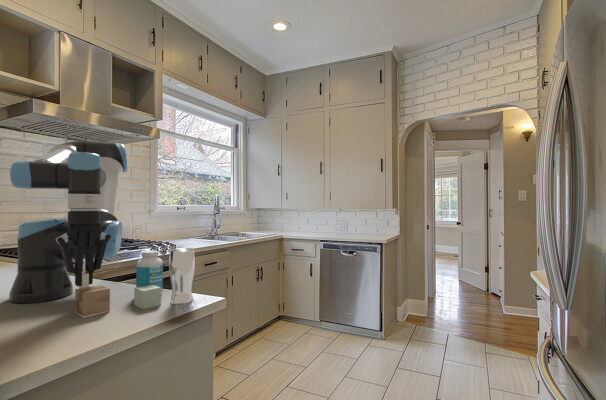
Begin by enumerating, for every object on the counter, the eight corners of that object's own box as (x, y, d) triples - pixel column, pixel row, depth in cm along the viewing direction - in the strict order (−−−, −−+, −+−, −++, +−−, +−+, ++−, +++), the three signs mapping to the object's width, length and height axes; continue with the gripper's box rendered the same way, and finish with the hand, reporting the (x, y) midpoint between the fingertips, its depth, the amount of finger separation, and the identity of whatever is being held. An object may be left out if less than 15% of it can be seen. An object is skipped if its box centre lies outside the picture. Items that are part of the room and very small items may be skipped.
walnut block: (75, 312, 87) (75, 289, 87) (100, 307, 92) (100, 284, 92) (83, 318, 83) (83, 293, 83) (109, 311, 88) (109, 288, 88)
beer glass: (183, 296, 102) (183, 247, 102) (199, 300, 98) (199, 248, 98) (163, 302, 96) (163, 250, 96) (180, 306, 92) (180, 251, 92)
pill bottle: (152, 300, 99) (152, 253, 99) (130, 298, 100) (130, 252, 100) (167, 293, 106) (168, 250, 106) (146, 291, 107) (147, 249, 108)
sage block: (134, 306, 93) (134, 288, 93) (152, 301, 97) (152, 284, 97) (142, 309, 90) (143, 291, 90) (160, 305, 94) (160, 287, 94)
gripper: (60, 210, 84) (59, 305, 84) (115, 209, 94) (115, 294, 94) (51, 210, 89) (50, 300, 89) (105, 209, 99) (104, 290, 99)
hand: (83, 297), depth 91 cm, fingers closed
